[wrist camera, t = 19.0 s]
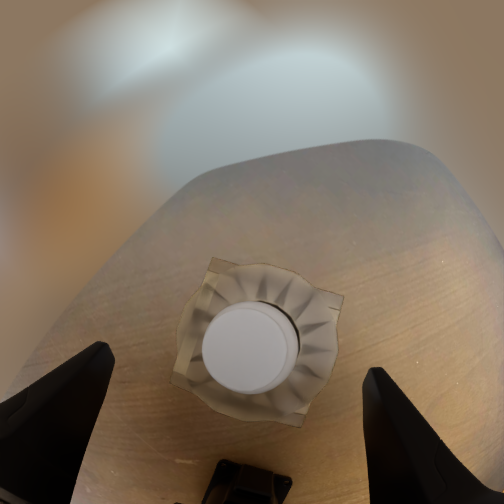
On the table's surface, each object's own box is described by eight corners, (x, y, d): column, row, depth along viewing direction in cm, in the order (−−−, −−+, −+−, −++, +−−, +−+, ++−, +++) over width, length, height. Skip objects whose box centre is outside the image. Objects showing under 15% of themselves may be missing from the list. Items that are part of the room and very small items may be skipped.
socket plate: (303, 426, 19) (307, 438, 16) (171, 382, 21) (157, 387, 18) (346, 295, 22) (355, 289, 19) (215, 256, 24) (206, 245, 21)
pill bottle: (261, 297, 23) (251, 268, 13) (306, 347, 21) (328, 354, 12) (210, 340, 22) (165, 340, 13) (253, 390, 20) (237, 427, 11)
